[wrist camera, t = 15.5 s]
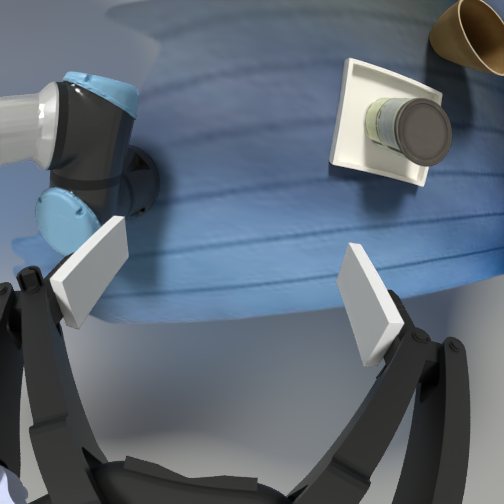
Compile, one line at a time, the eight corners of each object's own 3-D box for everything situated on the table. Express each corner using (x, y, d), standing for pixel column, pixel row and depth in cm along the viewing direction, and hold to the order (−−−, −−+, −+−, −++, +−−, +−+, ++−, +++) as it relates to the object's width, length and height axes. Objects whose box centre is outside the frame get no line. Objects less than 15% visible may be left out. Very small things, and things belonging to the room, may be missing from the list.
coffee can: (404, 94, 39) (446, 96, 27) (414, 145, 44) (455, 161, 32) (356, 100, 41) (389, 100, 29) (369, 153, 46) (402, 172, 33)
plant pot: (476, 59, 32) (524, 60, 18) (442, 85, 37) (493, 88, 23) (438, 4, 27) (482, -11, 13) (400, 25, 32) (444, 7, 18)
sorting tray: (328, 161, 48) (332, 164, 45) (344, 60, 38) (349, 57, 35) (416, 182, 48) (423, 186, 46) (434, 93, 38) (442, 93, 36)
